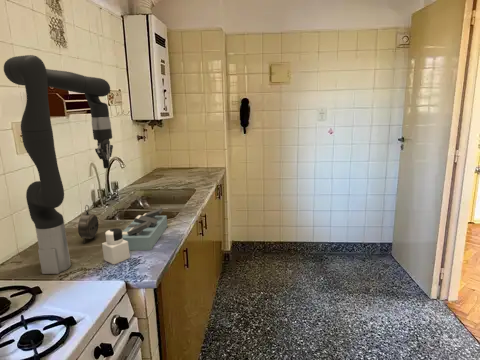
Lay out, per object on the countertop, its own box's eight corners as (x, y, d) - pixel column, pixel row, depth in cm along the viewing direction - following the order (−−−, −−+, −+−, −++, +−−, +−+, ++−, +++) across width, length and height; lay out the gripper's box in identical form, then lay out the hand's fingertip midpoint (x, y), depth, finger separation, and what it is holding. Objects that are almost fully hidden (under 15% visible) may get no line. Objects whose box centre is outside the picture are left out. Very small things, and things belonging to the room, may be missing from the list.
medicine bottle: (120, 253, 139) (116, 225, 136) (130, 258, 135) (126, 229, 132) (103, 260, 134) (99, 231, 131) (113, 265, 129) (109, 235, 127)
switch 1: (160, 214, 159) (158, 210, 159) (142, 220, 160) (140, 216, 160) (162, 210, 164) (161, 207, 163) (145, 216, 165) (144, 213, 165)
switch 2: (154, 226, 151) (154, 222, 150) (134, 221, 151) (134, 218, 150) (157, 222, 156) (157, 218, 155) (137, 217, 156) (138, 214, 155)
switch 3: (147, 227, 141) (145, 224, 141) (128, 235, 143) (126, 232, 142) (151, 223, 146) (149, 219, 146) (133, 231, 148) (131, 227, 147)
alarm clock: (91, 234, 160) (86, 201, 157) (102, 234, 160) (97, 201, 156) (79, 244, 150) (73, 209, 146) (91, 244, 149) (86, 208, 146)
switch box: (150, 249, 141) (149, 234, 140) (117, 250, 142) (115, 235, 141) (167, 226, 168) (166, 213, 166) (139, 226, 168) (137, 213, 167)
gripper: (103, 129, 139) (108, 170, 143) (116, 126, 152) (121, 164, 156) (85, 129, 140) (91, 171, 144) (100, 127, 153) (105, 165, 157)
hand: (106, 167), depth 150 cm, fingers closed
